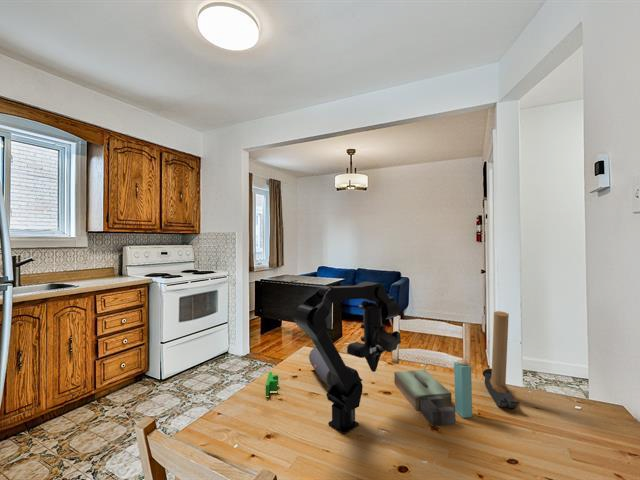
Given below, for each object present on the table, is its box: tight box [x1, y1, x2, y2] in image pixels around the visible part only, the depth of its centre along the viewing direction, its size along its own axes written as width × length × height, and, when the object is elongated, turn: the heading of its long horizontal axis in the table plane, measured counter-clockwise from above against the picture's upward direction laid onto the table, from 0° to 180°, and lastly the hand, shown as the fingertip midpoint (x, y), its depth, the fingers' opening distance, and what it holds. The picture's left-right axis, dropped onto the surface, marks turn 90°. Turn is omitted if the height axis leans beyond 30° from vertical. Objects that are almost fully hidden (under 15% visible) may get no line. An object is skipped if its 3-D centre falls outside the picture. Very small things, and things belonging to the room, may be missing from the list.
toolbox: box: [394, 369, 457, 427], centre depth 100 cm, size 12×27×6 cm, turn 7°
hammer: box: [482, 310, 520, 409], centre depth 100 cm, size 20×5×30 cm, turn 166°
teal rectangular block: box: [453, 359, 473, 419], centre depth 92 cm, size 3×4×16 cm
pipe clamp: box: [265, 371, 279, 397], centre depth 109 cm, size 11×4×5 cm, turn 4°
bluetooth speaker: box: [308, 346, 332, 388], centre depth 117 cm, size 23×9×10 cm, turn 17°
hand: (373, 371), depth 96 cm, fingers closed
